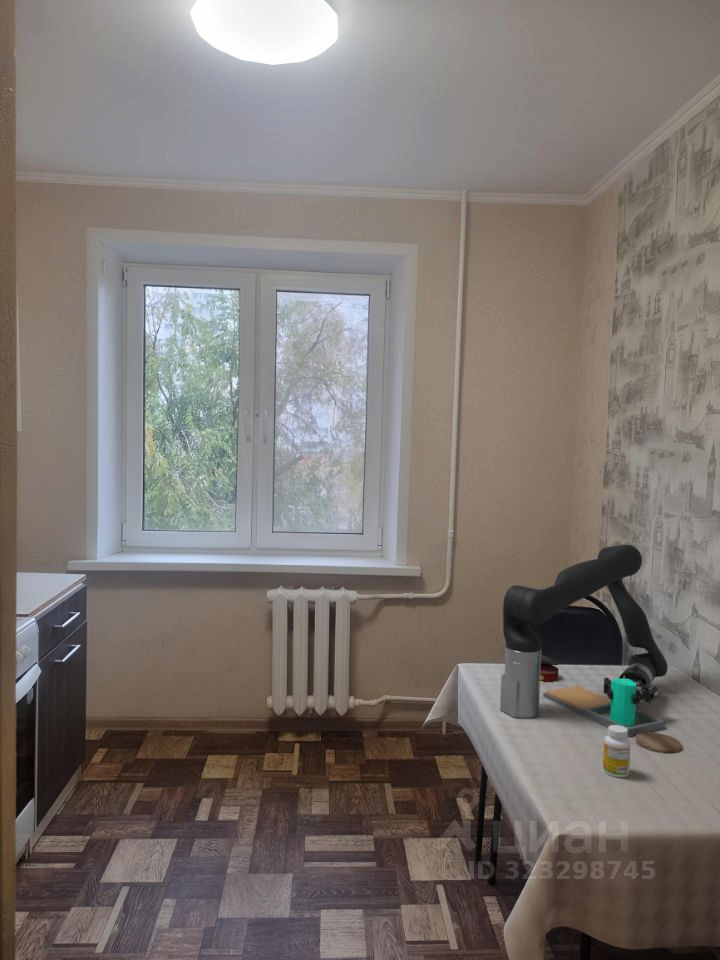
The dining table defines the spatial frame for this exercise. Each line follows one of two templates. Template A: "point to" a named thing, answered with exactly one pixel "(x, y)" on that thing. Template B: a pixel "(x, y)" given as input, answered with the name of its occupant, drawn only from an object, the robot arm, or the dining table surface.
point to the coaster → (658, 742)
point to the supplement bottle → (617, 752)
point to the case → (599, 708)
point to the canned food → (548, 670)
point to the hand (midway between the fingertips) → (622, 697)
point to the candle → (623, 702)
